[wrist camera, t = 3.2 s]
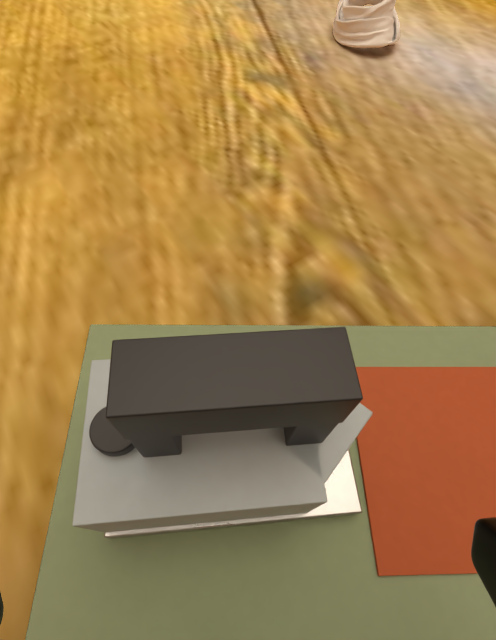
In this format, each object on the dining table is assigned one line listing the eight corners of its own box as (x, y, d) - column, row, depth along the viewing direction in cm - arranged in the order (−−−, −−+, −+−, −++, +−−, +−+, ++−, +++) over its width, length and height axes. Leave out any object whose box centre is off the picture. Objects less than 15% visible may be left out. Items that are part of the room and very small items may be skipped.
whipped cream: (402, 65, 41) (428, 11, 37) (341, 62, 40) (361, 6, 35) (378, 21, 45) (399, -33, 40) (321, 16, 43) (337, -40, 39)
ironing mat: (560, 330, 24) (568, 324, 24) (708, 643, 17) (726, 646, 16) (92, 328, 23) (89, 322, 22) (23, 667, 15) (15, 672, 15)
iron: (109, 539, 17) (-9, 520, 9) (120, 397, 21) (41, 281, 12) (356, 514, 18) (474, 476, 10) (329, 383, 21) (399, 264, 13)
